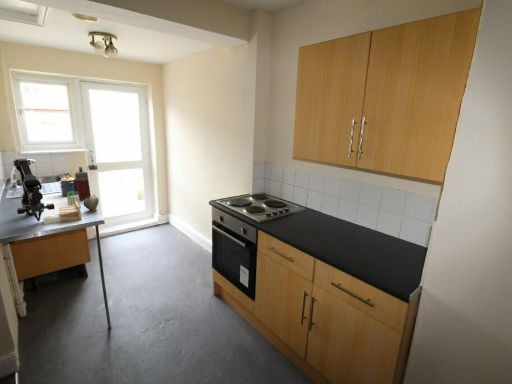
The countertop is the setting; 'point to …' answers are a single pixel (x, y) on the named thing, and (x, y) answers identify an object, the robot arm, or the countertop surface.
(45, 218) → the white long block
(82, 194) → the dark red tall piece
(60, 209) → the wooden crate
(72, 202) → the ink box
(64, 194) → the canister
